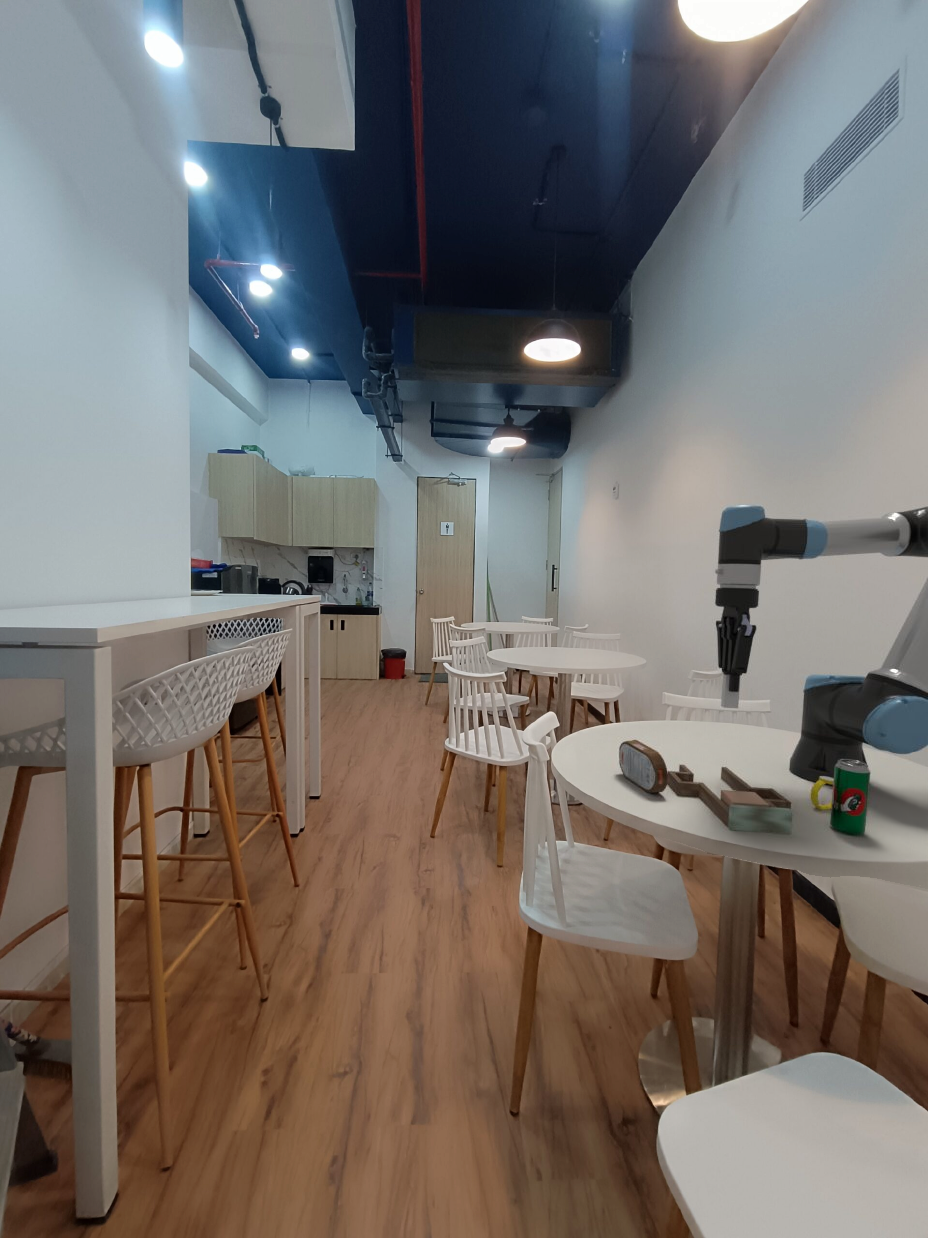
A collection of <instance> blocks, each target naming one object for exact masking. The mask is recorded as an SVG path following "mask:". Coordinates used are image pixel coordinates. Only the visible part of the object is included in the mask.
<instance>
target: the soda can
mask: <svg viewBox="0 0 928 1238" xmlns="http://www.w3.org/2000/svg"><path fill="white" fill-rule="evenodd" d="M870 783H871V771H870V769H869V765H868V763H867V764H866V763H863V762H860V761H856V760H851V759H839V760H838V763H837V764H836V765H835V769H834V781H833V785H832V793H831V794H832V796H831V801H832V804H831V809H830V816H829V817H830V819H829V824H830V826H831V827H832V829H834V830H835V831H837V832H840V834H841V833H842V834H843V835H848V836H854V837H855V836H856V837H857V836H861V835H864V833H865V832H866V826H867V816H868V815H867V814H868V804H869V794H870V792H869V791H870Z"/></svg>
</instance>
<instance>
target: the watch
mask: <svg viewBox="0 0 928 1238" xmlns="http://www.w3.org/2000/svg"><path fill="white" fill-rule="evenodd" d="M833 781H834V778H831V777H826V776H820V777H819V780H818V781H817V782H815V783H814V784H813V786H812V787H811V790H810V795H809V796H810V801H811V804H812V805H813V806H814V807H816V808H817V809H819V810H820V811H821V810H822V811H825V810H831V804H832V800H831V801H830V802H828V804H823V805H822V804H821V805H820V804H819V800H818V797H819V792H820V791H821V789H822V787H824V785H829V784H833ZM826 783H827V784H826Z"/></svg>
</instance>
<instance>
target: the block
mask: <svg viewBox="0 0 928 1238" xmlns="http://www.w3.org/2000/svg"><path fill="white" fill-rule="evenodd" d="M719 799H720V800H721V801H722V802H723V803H724V804H726V805H727V806H728V807H729V806H730V805H743V806H759V807H769V804H768V803H766V802H765V801H764V800H763V799H762V798H761V797H760V796H759V795H757V794H756V793H755V792H744V791H735V790H729V789H720V798H719Z"/></svg>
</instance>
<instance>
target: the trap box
mask: <svg viewBox="0 0 928 1238" xmlns="http://www.w3.org/2000/svg"><path fill="white" fill-rule="evenodd" d="M720 771H721V772H720V779H721V780H723V782H725V783H726V784H727V785H728V786H730V788H731V789H732V790H733V791H744V792H755V793H756V794H757V795H759V796H760V797H761V798H762V799H763V800H764V801H765V802H766V803H768V804H769V807H759V806H743V805H730V806H729V807H728V806H727V805H726V804H724V803H723V802H722V801H721V800H720V799H721V798H719V796H717V794H715V793H714V792H713V791H712V790H711V789H710V788H709V787H708V786H707V785H706V784H705V783H704V782H699V781H694V779H695V778H694V776H695V774H694V773H693V771H692V770H690V768H689V767H687V766H686V765H685V764H678V771H672V770H667V772H668V783H667V785H668V786H669V787H670V788H671V789H672V790H673V792H675V794H677V796H684V797H686V796H687V797H699V798H700V800H701V801H703V803H704V804H705V805H706V806H707V808H709V809H710V810H711V811H712V812H713V813H714V814H715V816H716V817H718V819H720V821H721V822H722V823H723V824H724V825H725V826H726V827H727V828H728V829H729V830H730V831H739V832H740V831H742V832H756V833H757V832H759V833H761V832H762V833H774V834H787V835H789V834H790V835H791V834H792V827H793V826H792V823H793V811H794V810H793V809H792V802H791V801H790V800H789V799H788V798H786V797H785V796H784V795H782V794H781V793H780V792H778V791H777V790H775V789H774V788H773V787H772V788H769V787H755V786H751V785H749V784H748V783H747V782H746V781H744V780H743V778H741V777H740V776H738V775H737V774H735V772H733V771H732V770H730V768H728V767H727V766H721V770H720Z"/></svg>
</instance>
